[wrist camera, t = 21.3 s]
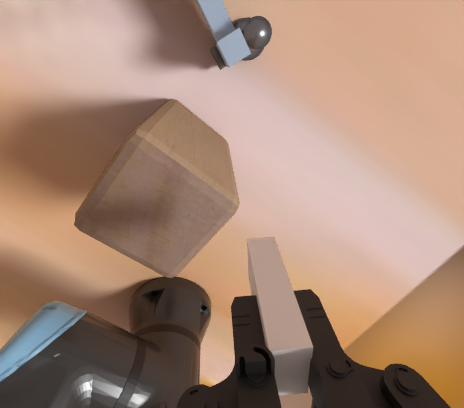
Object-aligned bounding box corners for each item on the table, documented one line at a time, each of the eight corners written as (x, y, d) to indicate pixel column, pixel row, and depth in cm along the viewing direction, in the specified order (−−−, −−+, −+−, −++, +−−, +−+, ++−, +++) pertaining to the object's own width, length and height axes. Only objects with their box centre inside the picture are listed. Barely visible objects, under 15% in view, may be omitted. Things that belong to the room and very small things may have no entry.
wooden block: (131, 152, 39) (63, 228, 21) (171, 94, 36) (131, 126, 18) (189, 192, 42) (172, 286, 24) (230, 142, 39) (245, 208, 21)
